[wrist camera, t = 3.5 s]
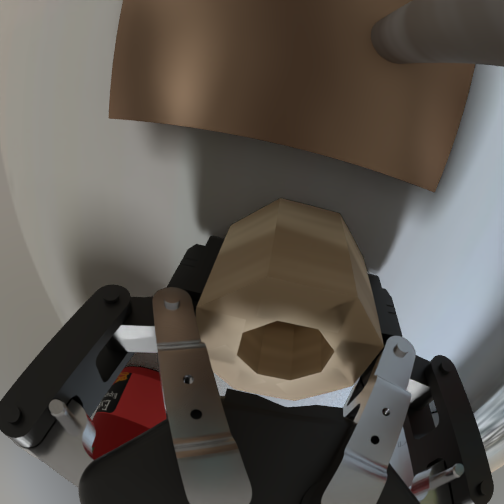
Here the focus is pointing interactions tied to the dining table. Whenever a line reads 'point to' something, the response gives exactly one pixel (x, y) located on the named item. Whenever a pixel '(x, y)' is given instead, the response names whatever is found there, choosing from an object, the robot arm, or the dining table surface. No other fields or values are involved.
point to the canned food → (128, 409)
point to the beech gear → (289, 304)
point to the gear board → (311, 73)
